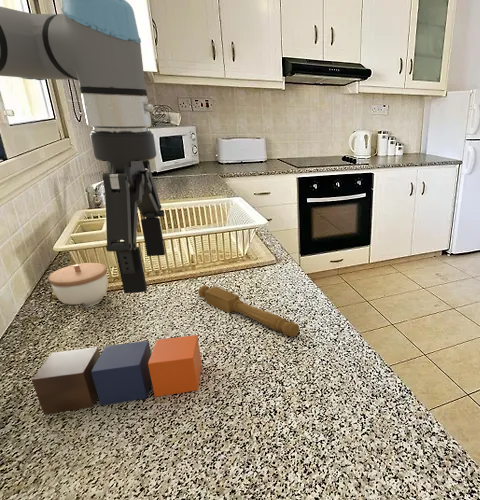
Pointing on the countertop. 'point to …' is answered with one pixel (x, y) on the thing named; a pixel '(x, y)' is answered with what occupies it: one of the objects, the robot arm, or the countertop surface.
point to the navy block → (123, 373)
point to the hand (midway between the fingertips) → (147, 271)
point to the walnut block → (67, 380)
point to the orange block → (175, 365)
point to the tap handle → (246, 310)
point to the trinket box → (80, 284)
